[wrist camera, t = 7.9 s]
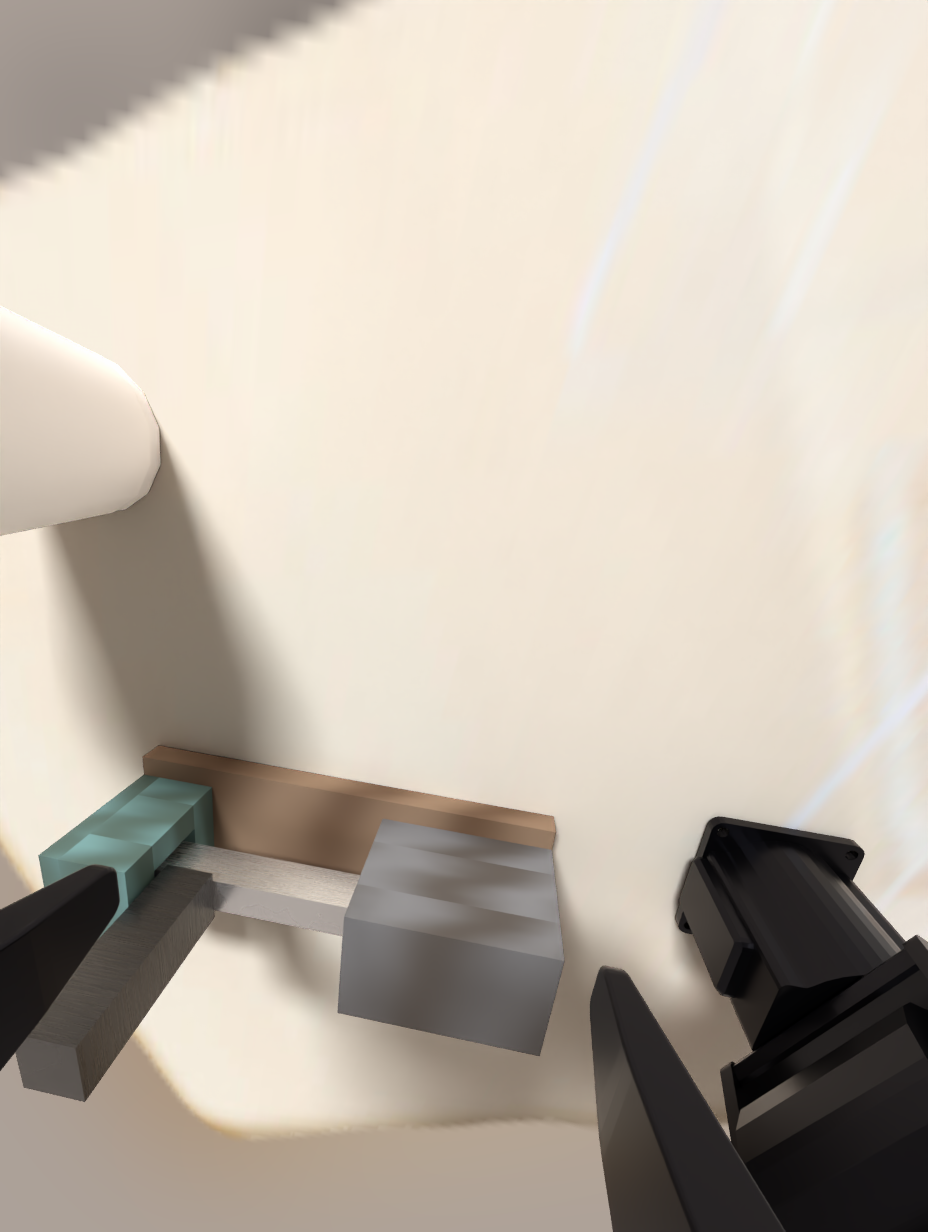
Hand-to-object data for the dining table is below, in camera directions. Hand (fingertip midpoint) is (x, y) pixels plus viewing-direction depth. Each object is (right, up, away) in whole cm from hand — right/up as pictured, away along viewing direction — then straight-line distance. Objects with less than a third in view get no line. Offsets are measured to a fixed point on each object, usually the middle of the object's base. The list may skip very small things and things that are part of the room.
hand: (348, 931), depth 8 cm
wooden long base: (-4, -6, +15) cm, 16 cm away
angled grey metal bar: (-7, -6, +12) cm, 15 cm away
